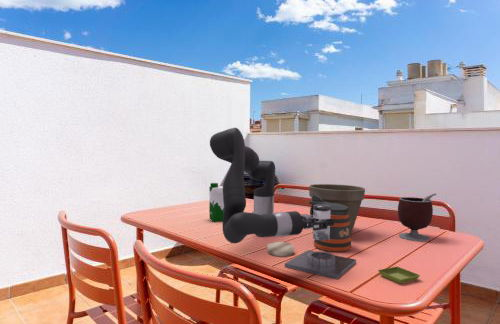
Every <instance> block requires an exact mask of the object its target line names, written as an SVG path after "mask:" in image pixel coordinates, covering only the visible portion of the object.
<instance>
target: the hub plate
mask: <svg viewBox="0 0 500 324" xmlns="http://www.w3.org/2000/svg"><path fill="white" fill-rule="evenodd" d="M356 263H357V259H355V258H351V257H350V258H349V257H345V256H342V255H341V256H340V255H335V254H333V253H331V252H329V251H321V250H320V251H317V250H316V251H314V250H309V249H307V250H306V251H305V252H302V253H300V254H298V255H297V256H295V257H293V258H291V259H290V260H288V261H287V262H284V268H288V269H293V270H296V271H301V272H305V273H309V274H314V275H317V276H318V275H319V276H323V277H326V278H330V279H335V280H338V279H339V278H340V277H342V275H344V274H345V273H346V272H347V271H349V270H350V269H351V268H352V267H353V266H355V265H356Z"/></svg>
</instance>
